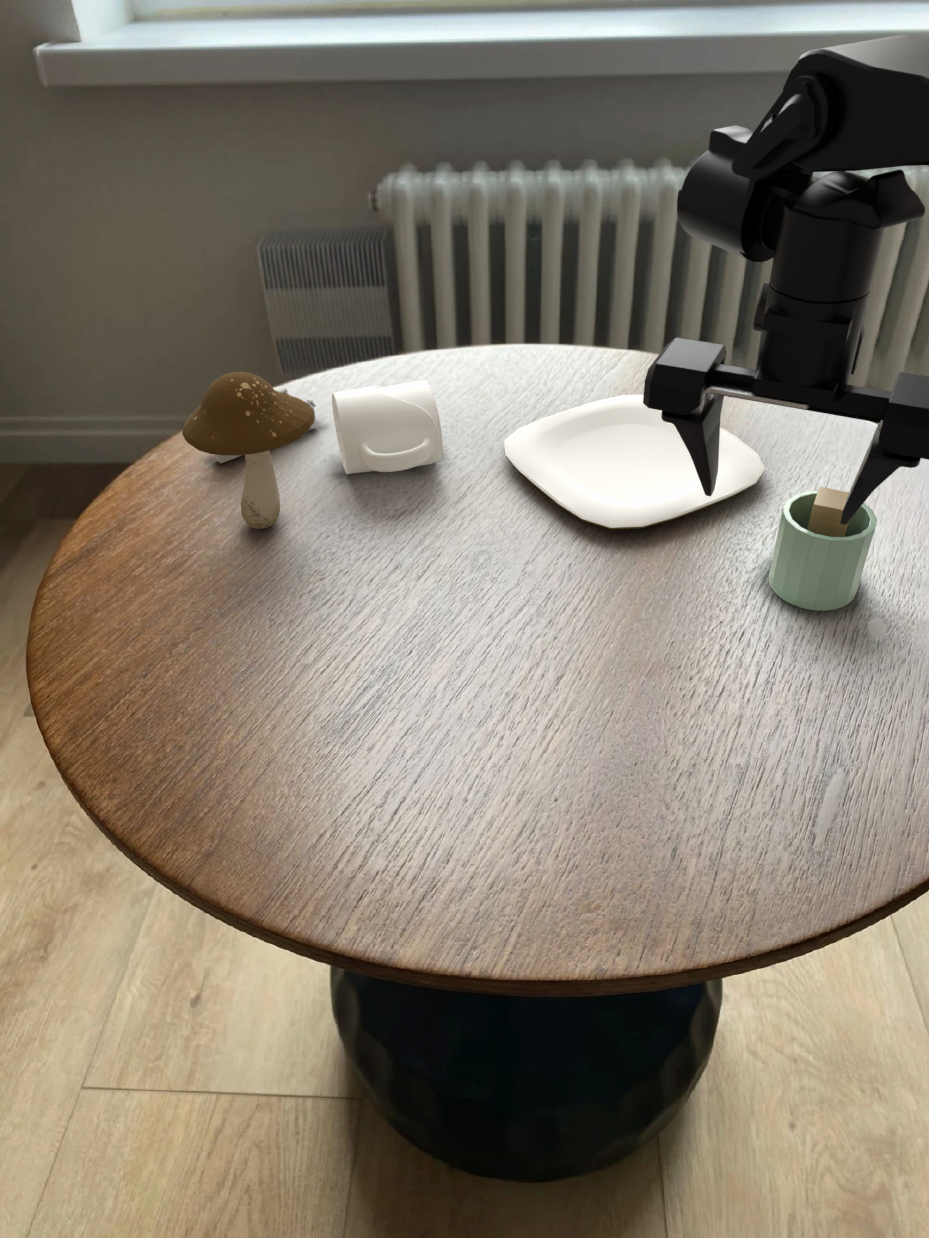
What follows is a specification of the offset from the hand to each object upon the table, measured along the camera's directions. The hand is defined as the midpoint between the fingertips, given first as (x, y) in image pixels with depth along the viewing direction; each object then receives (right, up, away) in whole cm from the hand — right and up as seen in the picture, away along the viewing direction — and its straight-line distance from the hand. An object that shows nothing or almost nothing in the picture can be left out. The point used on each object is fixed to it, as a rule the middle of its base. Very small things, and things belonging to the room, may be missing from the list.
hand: (775, 507), depth 67 cm
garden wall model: (-42, +10, +35) cm, 56 cm away
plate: (-5, +7, +29) cm, 30 cm away
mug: (-29, +7, +30) cm, 42 cm away
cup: (+8, -5, +14) cm, 16 cm away
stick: (+8, -5, +13) cm, 16 cm away
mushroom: (-40, +1, +23) cm, 46 cm away
